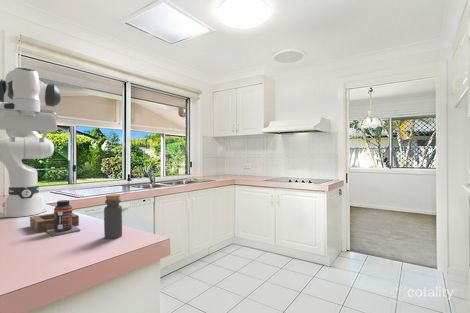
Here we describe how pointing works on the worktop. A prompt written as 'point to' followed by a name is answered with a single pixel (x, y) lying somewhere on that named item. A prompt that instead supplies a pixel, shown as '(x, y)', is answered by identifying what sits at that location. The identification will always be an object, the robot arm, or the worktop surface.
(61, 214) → the supplement bottle
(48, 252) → the worktop surface
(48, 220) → the frame
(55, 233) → the grey mat
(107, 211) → the bottle
